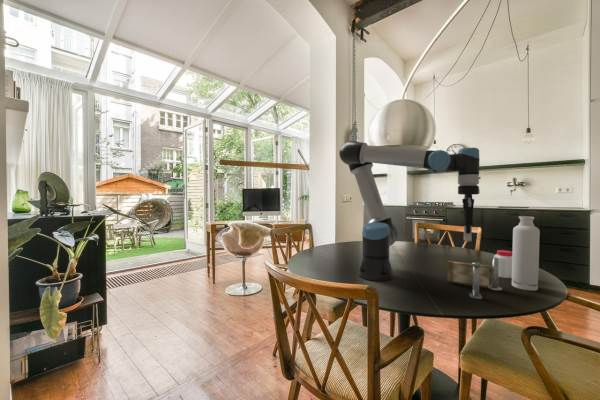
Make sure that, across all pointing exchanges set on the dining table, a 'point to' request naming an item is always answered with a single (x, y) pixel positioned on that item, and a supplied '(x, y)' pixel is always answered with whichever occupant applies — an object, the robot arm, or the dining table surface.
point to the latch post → (476, 281)
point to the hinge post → (495, 275)
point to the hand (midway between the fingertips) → (467, 240)
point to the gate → (467, 273)
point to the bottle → (525, 254)
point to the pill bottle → (504, 263)
